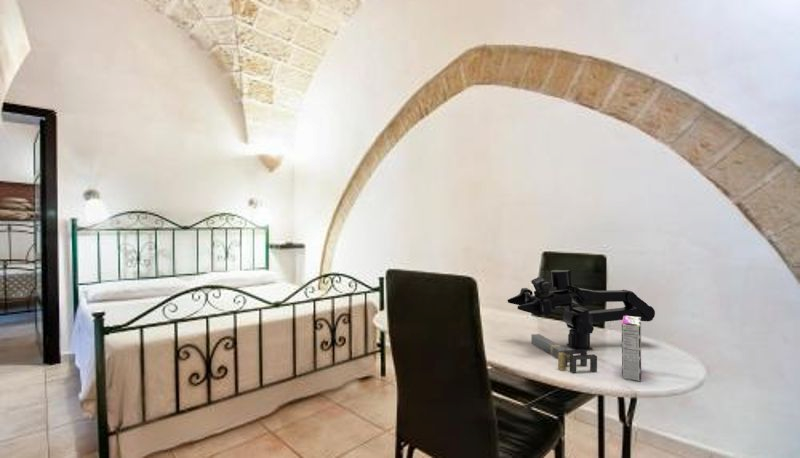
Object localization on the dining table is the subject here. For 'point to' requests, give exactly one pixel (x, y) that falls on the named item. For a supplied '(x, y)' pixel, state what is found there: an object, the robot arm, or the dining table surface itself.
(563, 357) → the sight post
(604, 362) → the dining table surface
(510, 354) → the dining table surface
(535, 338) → the long grey bar
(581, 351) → the grey arch block
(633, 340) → the candy bar box
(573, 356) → the dark grey arch
